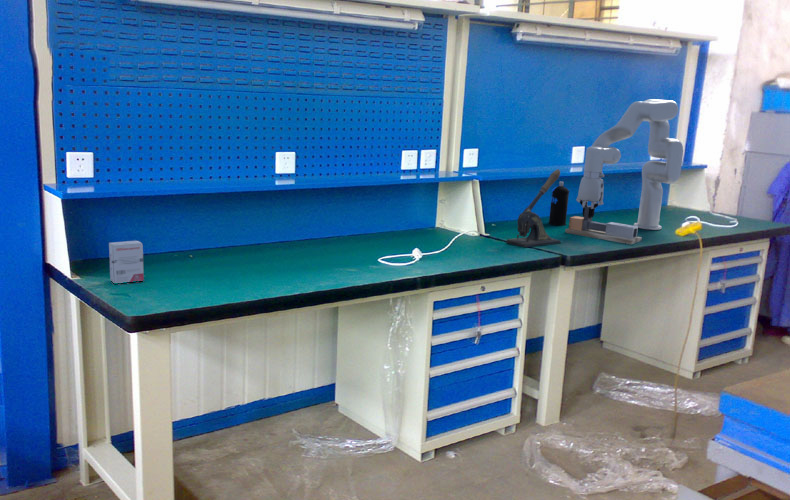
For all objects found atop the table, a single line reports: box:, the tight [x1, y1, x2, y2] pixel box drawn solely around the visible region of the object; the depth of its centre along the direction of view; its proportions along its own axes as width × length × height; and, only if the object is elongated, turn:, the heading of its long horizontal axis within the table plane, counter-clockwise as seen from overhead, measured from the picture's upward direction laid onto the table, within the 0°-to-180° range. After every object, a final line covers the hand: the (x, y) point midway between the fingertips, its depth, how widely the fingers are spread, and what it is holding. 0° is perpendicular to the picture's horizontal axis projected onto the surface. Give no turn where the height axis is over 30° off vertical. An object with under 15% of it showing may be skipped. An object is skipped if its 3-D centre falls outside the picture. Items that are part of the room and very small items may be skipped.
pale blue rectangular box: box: [605, 221, 639, 239], centre depth 313 cm, size 5×12×5 cm, turn 51°
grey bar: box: [582, 205, 607, 232], centre depth 319 cm, size 4×16×10 cm, turn 51°
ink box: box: [108, 240, 145, 284], centre depth 212 cm, size 9×5×12 cm, turn 124°
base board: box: [565, 227, 643, 245], centre depth 319 cm, size 12×30×2 cm, turn 51°
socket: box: [568, 215, 584, 231], centre depth 325 cm, size 6×6×5 cm
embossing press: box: [505, 169, 561, 248], centre depth 294 cm, size 11×24×30 cm, turn 126°
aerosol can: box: [547, 181, 570, 227], centre depth 340 cm, size 8×8×20 cm
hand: (587, 216), depth 322 cm, fingers closed on grey bar, 2 cm apart
